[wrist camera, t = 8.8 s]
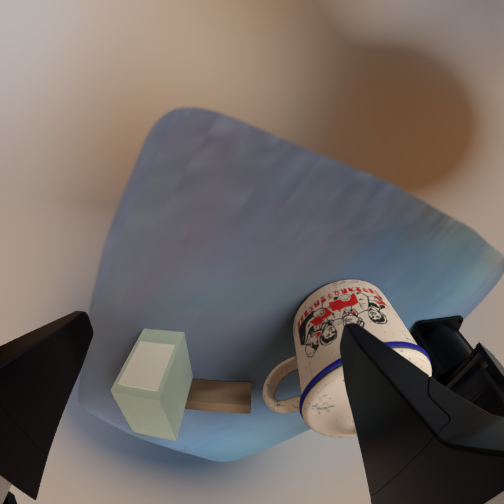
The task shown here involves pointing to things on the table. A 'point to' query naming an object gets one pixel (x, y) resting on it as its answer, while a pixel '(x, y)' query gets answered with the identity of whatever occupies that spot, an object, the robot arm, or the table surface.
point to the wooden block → (219, 396)
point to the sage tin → (155, 383)
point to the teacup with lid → (336, 352)
